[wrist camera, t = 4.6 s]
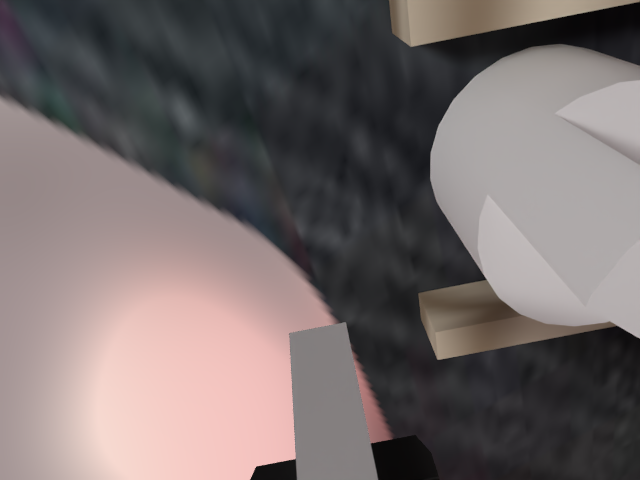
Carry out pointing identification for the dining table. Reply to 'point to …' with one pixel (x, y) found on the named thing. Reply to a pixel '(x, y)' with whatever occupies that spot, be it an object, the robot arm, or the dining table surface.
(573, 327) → the bay
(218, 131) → the dining table surface
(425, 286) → the dining table surface
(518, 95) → the cylinder with rectangular tab
